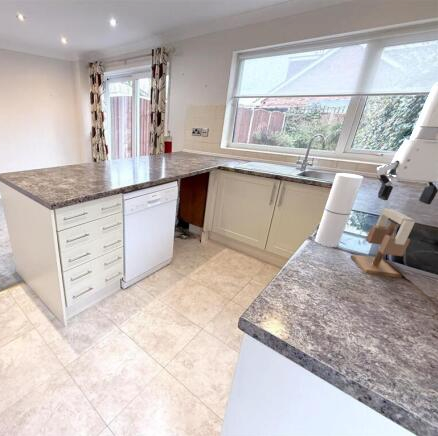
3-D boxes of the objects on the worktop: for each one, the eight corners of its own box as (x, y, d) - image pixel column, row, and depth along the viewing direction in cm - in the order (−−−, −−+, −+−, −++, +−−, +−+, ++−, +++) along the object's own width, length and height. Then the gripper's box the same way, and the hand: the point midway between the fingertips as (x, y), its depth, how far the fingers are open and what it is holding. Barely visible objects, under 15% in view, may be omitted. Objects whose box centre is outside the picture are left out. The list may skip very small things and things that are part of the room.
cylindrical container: (310, 240, 91) (331, 174, 82) (322, 236, 94) (343, 172, 85) (331, 249, 85) (356, 178, 76) (342, 244, 88) (368, 176, 79)
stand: (382, 261, 79) (403, 215, 72) (401, 278, 71) (427, 227, 64) (350, 257, 81) (368, 212, 74) (365, 273, 73) (387, 223, 66)
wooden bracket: (382, 241, 77) (396, 208, 73) (404, 257, 68) (422, 221, 64) (364, 239, 78) (377, 206, 74) (383, 255, 69) (400, 219, 65)
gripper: (463, 136, 62) (430, 199, 69) (383, 132, 66) (359, 193, 72) (493, 138, 55) (453, 209, 62) (402, 134, 59) (374, 201, 66)
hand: (402, 200), depth 67 cm, fingers open, 9 cm apart
